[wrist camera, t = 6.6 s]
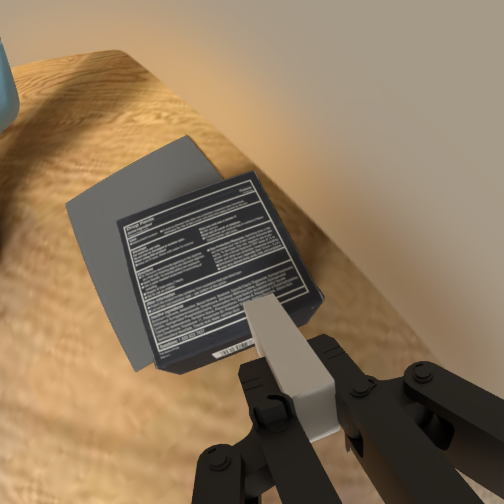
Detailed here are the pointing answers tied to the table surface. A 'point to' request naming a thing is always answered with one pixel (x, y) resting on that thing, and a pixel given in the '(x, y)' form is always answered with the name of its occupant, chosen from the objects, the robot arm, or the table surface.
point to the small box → (212, 271)
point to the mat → (108, 238)
